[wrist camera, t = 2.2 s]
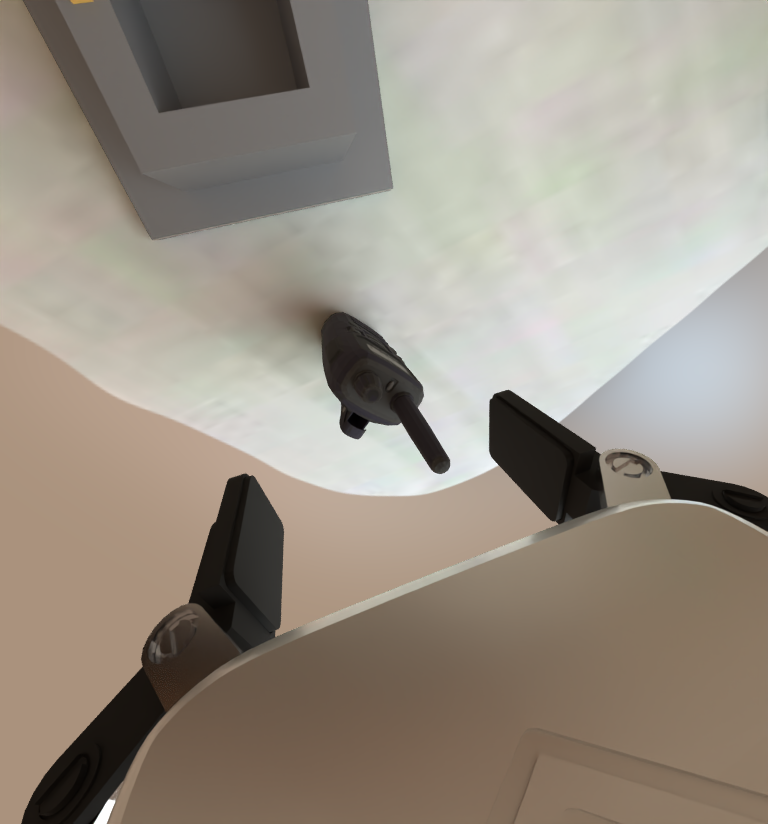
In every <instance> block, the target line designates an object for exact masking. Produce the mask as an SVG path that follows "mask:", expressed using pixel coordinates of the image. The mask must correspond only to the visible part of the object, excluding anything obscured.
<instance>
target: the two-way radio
mask: <svg viewBox="0 0 768 824" xmlns="http://www.w3.org/2000/svg"><path fill="white" fill-rule="evenodd" d="M321 332H322V359H323V367H324V372H325V376H326V379H327V383H328V386H329V388H330V389H331V391H332V392H333V393H334V395H335V396H336V397H337V398H338V399H339V401H340V402H341V416H340V422H339V423H340V428H341V430H342V432H343V433H344V434H346V435H347V436H349V437H352V438H354V439H359V438H361V436H362V435H363V434H364V432H365V431H366V429H365V430H364V428H365V427H366V426H367V424H368V423H369V422H373V423H378V424H383V425H398V424H400V423H401V422H402V424H403V426H404V427H405V429H406V431H407V432H408V434H409V436H410V437H411V439H412V441H413V442H414V444H415V445H416V447H417V448H418V450H419V451H420V453H421V454H422V456H423V458H424V459H425V461H426V462H427V464H428V465H429V467H430V468H431V470H432V471H433V472H435V473H437V474H442V473H445V472H446V471H448V469H449V468H450V459H449V457H448V456H447V454H446V453H445V451H444V449H443V448H442V446H441V444H440V443H439V441H438V439H437V438H436V436H435V434H434V433H433V431H432V429H431V428H430V426H429V425H428V423H427V422H426V420H425V419H424V417H423V415H422V414H421V412H420V411H419V409H418V406H419V405H420V403H421V402H422V399H423V397H424V393H423V386H422V385H421V383H420V382H419V381H418V380H417V378H416V377H415V376H414V375H413V374H412V372H411V371H410V370H409V369H408V368H407V367H406V365H405V363H404V362H403V360H402V358H401V357H399V356H397V355H396V354H397V353H396V351H395V350H394V349H393V348H391V347H390V346H389V345H388V343H387V342H385V340H384V339H383V337H382V336H380V335H379V334H378V333H377V332H375V331H374V330H372V329H371V328H370V327H368V326H367V325H365V324H364V323H362V322H360V321H359V320H357V319H356V318H354V317H352V316H350V315H348V314H346V313H343V312H342V313H335V314H333V315H331V316H330V317H329V318H328V319H327V320H326V322H325V323H324V325H323V328H322V330H321Z"/></svg>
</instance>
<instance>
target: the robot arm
mask: <svg viewBox="0 0 768 824" xmlns="http://www.w3.org/2000/svg"><path fill="white" fill-rule="evenodd" d="M595 450H596V448H595V447H594V446H592V445H591V444H589V443H588V442H586V441H585V440H583V439H582V438H580V437H579V436H577V435H576V434H575V433H573V432H572V431H570V430H569V429H567V428H565V427H564V426H562V425H561V424H560V423H558V422H557V421H555V420H554V419H552V418H551V417H549V416H548V415H546V414H545V413H543V412H542V411H540V410H539V409H537V408H536V407H534V406H533V405H531V404H530V403H528V402H527V401H525V400H524V399H522V398H521V397H519V396H518V395H516V394H515V393H513V392H512V391H510V390H506V391H502V392H499V393H496V394H494V395H493V398H492V399H490V406H489V452H490V455H491V457H492V458H493V459H494V461H495V462H496V463H497V464H498V465H499V466H500V467H501V468H502V469H503V470H504V471H505V472H506V473H507V474H508V475H509V477H511V479H512V480H513V481H514V482H515V483H516V484H517V485H518V486H519V487H520V488H521V489H522V490H523V492H524V493H525V494H526V495H527V496H528V497H529V498H530V499H531V500H532V501H533V502H534V503H535V504H536V506H537V507H538V508H539V509H540V510H541V511H542V512H543V513H544V514H545V515H546V516H547V517H548V518H549V519H550V520H551V521H556V522H557V523H558V524H559V525H556V526H554V527H551V528H548V529H546V530H543V531H541V532H538V533H536V534H533V535H531V536H528V537H525V538H522V539H520V540H517V541H515V542H512V543H510V544H507V545H504V546H502V547H499V548H497V549H494V550H492V551H489V552H486V553H484V554H481V555H479V556H476V557H474V558H471V559H468V560H466V561H463V562H461V563H458V564H456V565H453V566H451V567H448V568H446V569H443V570H441V571H438V572H436V573H433V574H430V575H428V576H425V577H423V578H420V579H418V580H415V581H412V582H410V583H408V584H405V585H402V586H400V587H397V588H395V589H393V590H390V591H387V592H385V593H382V594H380V595H377V596H375V597H372V598H370V599H367V600H365V601H362V602H360V603H357V604H355V605H352V606H350V607H347V608H345V609H342V610H340V611H337V612H335V613H332V614H330V615H327V616H325V617H322V618H320V619H318V620H315V621H313V622H311V623H308V624H306V625H303V626H301V627H298V628H296V629H294V630H291V631H289V632H286V633H284V634H282V635H280V636H277V637H275V630H277V629H279V628H280V622H281V598H282V569H283V541H284V540H283V539H284V529H283V524H282V522H281V520H280V519H279V517H278V515H277V514H276V512H275V510H274V508H273V507H272V505H271V504H270V502H269V500H268V498H267V497H266V495H265V493H264V492H263V490H262V488H261V487H260V485H259V484H258V482H257V480H256V478H255V477H254V476H249V475H247V474H242V475H239V476H236V477H233V478H230V479H229V480H228V481H227V485H226V488H225V492H224V495H223V499H222V502H221V506H220V510H219V514H218V517H217V520H216V522H215V523H214V524H213V525H212V527H211V529H210V532H209V535H208V539H207V542H206V546H205V549H204V553H203V556H202V559H201V563H200V566H199V569H198V573H197V576H196V580H195V583H194V586H193V590H192V593H191V597H190V600H189V603H188V604H186V605H182V606H180V607H179V608H176V609H175V610H173V611H172V612H170V613H169V614H168V615H167V616H165V617H164V618H163V619H162V620H161V621H160V622H159V624H157V626H156V627H155V628H154V629H153V631H152V633H151V634H150V635H149V637H148V638H147V641H146V643H145V645H144V647H143V651H142V657H141V661H142V666H143V667H142V668H141V669H140V670H139V671H138V672H137V674H136V675H135V676H134V677H133V678H132V679H131V680H130V681H129V682H128V683H127V685H126V686H125V687H124V688H123V689H122V690H121V691H120V692H119V693H118V694H117V695H116V696H115V698H114V699H113V700H112V701H111V702H110V703H109V704H108V705H107V706H106V707H105V708H104V709H103V711H102V712H101V713H100V714H99V715H98V716H97V717H96V718H95V719H94V720H93V722H92V723H91V724H90V725H89V726H88V727H87V728H86V729H85V730H84V731H83V732H82V733H81V734H80V736H79V737H78V738H77V739H76V740H75V741H74V742H73V743H72V745H70V747H69V748H68V749H67V750H66V751H65V752H64V753H63V754H62V755H61V756H60V757H59V759H58V760H57V761H56V762H55V763H54V764H53V766H52V767H51V768H50V769H49V771H48V772H47V773H46V774H45V776H44V777H43V779H42V780H41V782H40V784H39V785H38V787H37V788H36V790H35V791H34V793H33V795H32V797H31V799H30V801H29V804H28V806H27V808H26V810H25V813H24V816H23V819H22V823H21V824H768V497H766V496H764V495H763V494H761V493H759V492H757V491H754V490H752V489H749V488H746V487H743V486H739V485H735V484H731V483H725V482H719V481H714V480H708V479H702V478H697V477H690V476H685V475H679V474H674V473H668V472H662V471H660V469H659V467H658V466H657V464H656V463H655V462H654V461H653V460H652V459H650V458H649V457H647V456H645V455H643V454H641V453H638V452H635V451H632V450H627V449H611V450H607V451H605V452H603V453H602V454H599V453H598V452H596V451H595Z"/></svg>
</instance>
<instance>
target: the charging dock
mask: <svg viewBox="0 0 768 824" xmlns="http://www.w3.org/2000/svg"><path fill="white" fill-rule="evenodd" d="M23 1H24V3H25V5H26V7H27V9H28V11H29V12H30V14H31V16H32V18H33V20H34V22H35V24H36V25H37V27H38V29H39V31H40V33H41V35H42V37H43V38H44V40H45V42H46V44H47V46H48V48H49V50H50V51H51V53H52V55H53V57H54V59H55V61H56V63H57V65H58V66H59V68H60V70H61V72H62V74H63V76H64V78H65V79H66V81H67V83H68V85H69V87H70V89H71V91H72V92H73V94H74V96H75V98H76V100H77V102H78V104H79V105H80V107H81V109H82V111H83V113H84V115H85V117H86V118H87V120H88V122H89V124H90V126H91V128H92V130H93V131H94V133H95V135H96V137H97V139H98V141H99V143H100V144H101V146H102V148H103V150H104V152H105V154H106V156H107V157H108V159H109V161H110V163H111V165H112V167H113V169H114V171H115V172H116V174H117V176H118V178H119V180H120V182H121V184H122V185H123V187H124V189H125V191H126V193H127V195H128V197H129V198H130V200H131V202H132V204H133V206H134V208H135V210H136V211H137V213H138V215H139V217H140V219H141V221H142V223H143V224H144V226H145V228H146V230H147V232H148V234H149V236H150V237H151V239H152V240H161V239H165V238H170V237H175V236H179V235H184V234H189V233H193V232H198V231H203V230H207V229H212V228H217V227H221V226H226V225H231V224H236V223H240V222H245V221H250V220H254V219H259V218H264V217H268V216H273V215H278V214H282V213H287V212H292V211H296V210H301V209H306V208H311V207H315V206H320V205H325V204H329V203H334V202H339V201H343V200H348V199H353V198H357V197H362V196H367V195H371V194H376V193H381V192H385V191H389V190H391V189H393V183H392V176H391V168H390V161H389V154H388V146H387V139H386V132H385V124H384V117H383V109H382V102H381V95H380V87H379V80H378V73H377V65H376V58H375V51H374V43H373V36H372V29H371V21H370V14H369V7H368V0H23Z"/></svg>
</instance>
